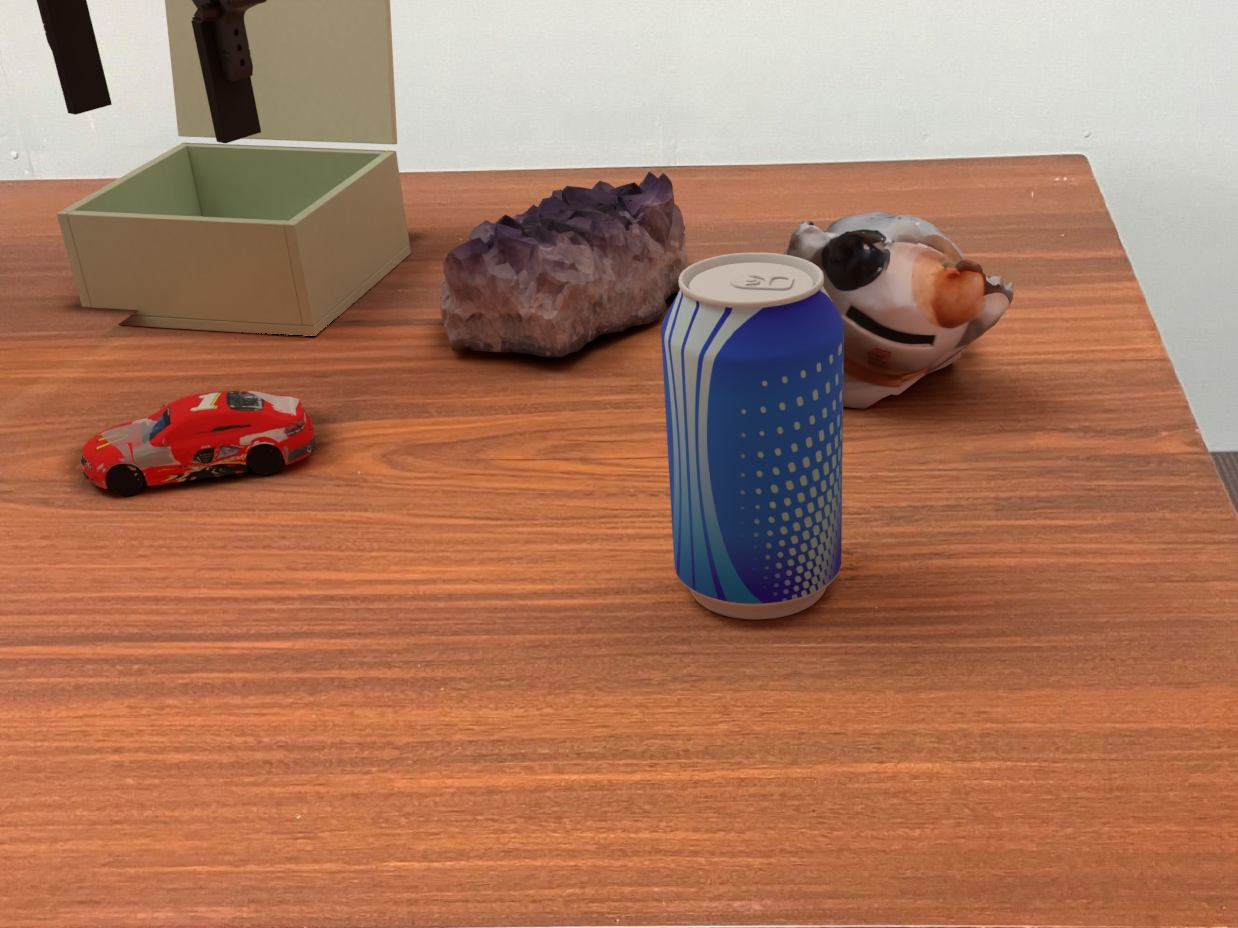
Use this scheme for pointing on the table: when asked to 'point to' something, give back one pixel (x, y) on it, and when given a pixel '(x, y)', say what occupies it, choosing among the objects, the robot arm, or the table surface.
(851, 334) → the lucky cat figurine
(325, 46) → the chest lid
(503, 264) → the geode
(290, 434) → the race car
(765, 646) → the table surface
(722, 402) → the beer can
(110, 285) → the chest
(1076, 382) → the table surface
